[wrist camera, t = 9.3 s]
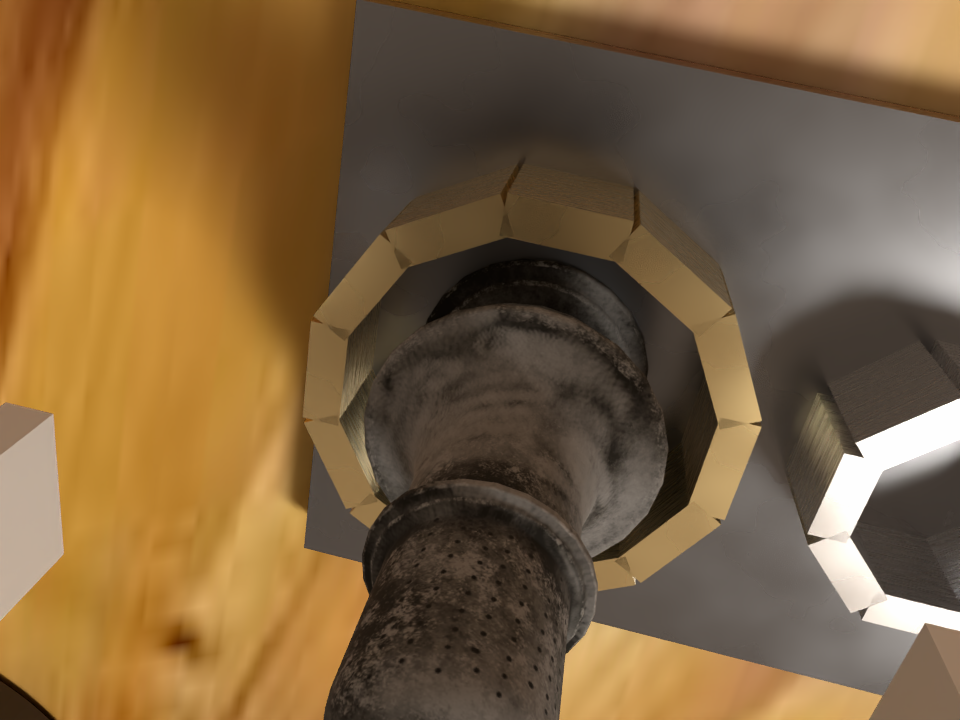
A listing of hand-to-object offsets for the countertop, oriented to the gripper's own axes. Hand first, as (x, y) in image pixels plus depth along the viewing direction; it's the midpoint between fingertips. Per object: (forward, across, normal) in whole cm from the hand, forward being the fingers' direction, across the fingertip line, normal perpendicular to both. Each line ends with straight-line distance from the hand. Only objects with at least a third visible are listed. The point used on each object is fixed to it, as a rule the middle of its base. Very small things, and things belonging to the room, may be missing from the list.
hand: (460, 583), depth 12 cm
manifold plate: (+8, +4, 0) cm, 10 cm away
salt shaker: (+8, 0, 0) cm, 8 cm away
